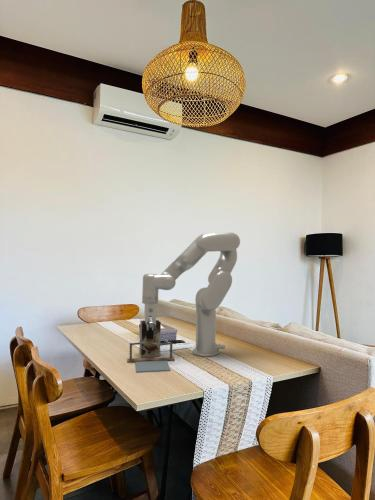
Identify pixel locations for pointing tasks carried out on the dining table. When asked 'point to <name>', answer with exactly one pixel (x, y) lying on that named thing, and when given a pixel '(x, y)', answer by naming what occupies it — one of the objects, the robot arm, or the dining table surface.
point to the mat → (152, 366)
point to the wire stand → (133, 360)
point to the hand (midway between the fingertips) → (149, 336)
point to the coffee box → (150, 340)
